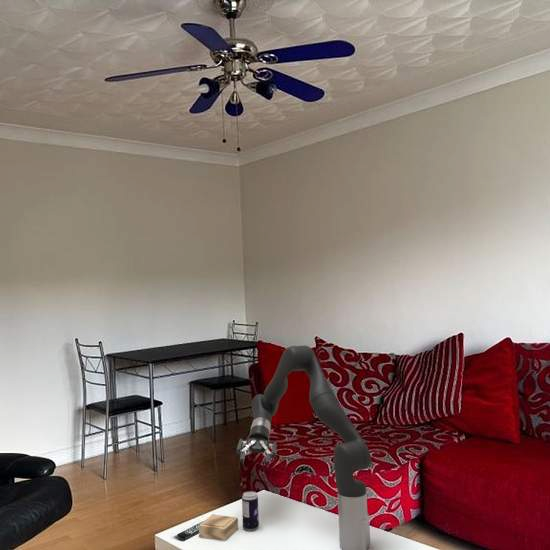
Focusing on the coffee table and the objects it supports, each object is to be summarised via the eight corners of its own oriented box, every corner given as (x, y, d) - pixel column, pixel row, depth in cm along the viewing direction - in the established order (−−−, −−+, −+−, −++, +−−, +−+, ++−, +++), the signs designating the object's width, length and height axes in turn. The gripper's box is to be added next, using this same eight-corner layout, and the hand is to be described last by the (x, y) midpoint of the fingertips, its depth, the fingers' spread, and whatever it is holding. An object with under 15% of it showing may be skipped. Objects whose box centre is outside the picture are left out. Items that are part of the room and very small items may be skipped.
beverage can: (256, 532, 198) (255, 497, 198) (241, 531, 199) (239, 496, 199) (260, 525, 203) (259, 491, 203) (245, 524, 204) (244, 490, 205)
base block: (238, 529, 200) (237, 516, 201) (225, 540, 191) (224, 527, 191) (213, 525, 204) (212, 513, 204) (199, 537, 195) (198, 524, 195)
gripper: (241, 422, 215) (234, 452, 200) (279, 426, 213) (274, 456, 199) (241, 438, 218) (234, 469, 203) (278, 442, 217) (274, 473, 202)
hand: (254, 462), depth 201 cm, fingers open, 8 cm apart
